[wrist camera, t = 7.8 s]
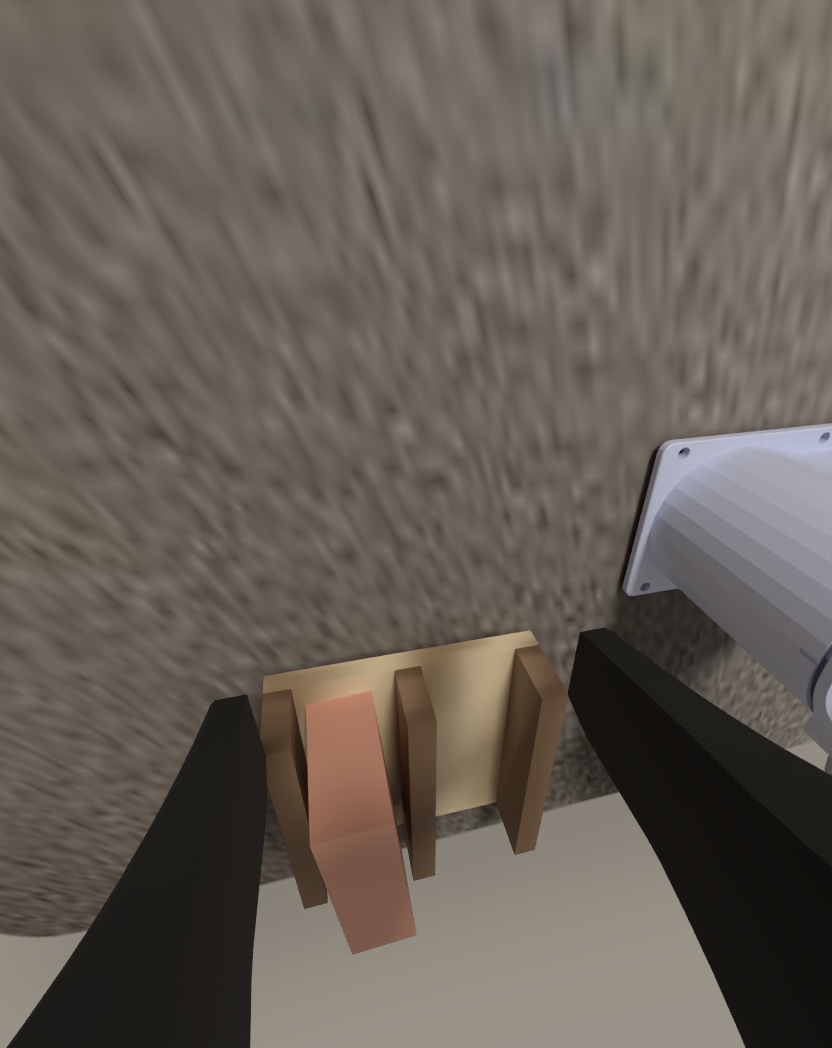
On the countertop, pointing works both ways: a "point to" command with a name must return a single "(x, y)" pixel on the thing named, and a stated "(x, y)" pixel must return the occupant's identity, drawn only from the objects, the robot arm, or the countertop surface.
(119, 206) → the countertop surface
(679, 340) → the countertop surface
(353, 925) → the book
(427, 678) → the book rack
